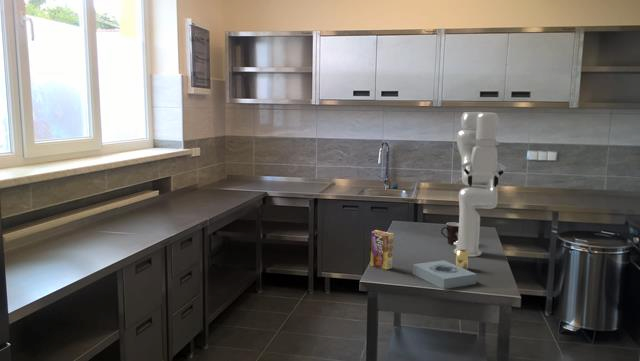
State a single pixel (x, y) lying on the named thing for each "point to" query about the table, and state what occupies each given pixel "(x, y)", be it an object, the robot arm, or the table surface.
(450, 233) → the coffee mug
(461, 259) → the bushing
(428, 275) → the plate
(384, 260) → the candy box
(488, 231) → the table surface
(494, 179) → the robot arm
